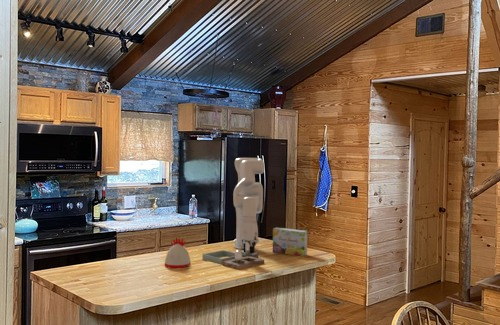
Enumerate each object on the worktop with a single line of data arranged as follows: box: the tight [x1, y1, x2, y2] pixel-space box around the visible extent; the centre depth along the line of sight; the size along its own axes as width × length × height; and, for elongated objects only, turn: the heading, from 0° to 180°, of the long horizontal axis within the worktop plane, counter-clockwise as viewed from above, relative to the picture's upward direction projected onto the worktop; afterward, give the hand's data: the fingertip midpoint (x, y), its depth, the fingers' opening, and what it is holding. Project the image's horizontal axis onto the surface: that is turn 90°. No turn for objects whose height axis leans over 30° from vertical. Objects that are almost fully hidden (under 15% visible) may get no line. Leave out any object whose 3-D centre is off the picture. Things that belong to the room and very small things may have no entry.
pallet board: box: [222, 256, 265, 271], centre depth 264 cm, size 12×20×3 cm, turn 136°
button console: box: [242, 251, 259, 258], centre depth 282 cm, size 9×9×3 cm
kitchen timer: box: [164, 237, 191, 269], centre depth 264 cm, size 14×14×15 cm
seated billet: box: [234, 249, 243, 264], centre depth 261 cm, size 4×4×8 cm
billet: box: [245, 241, 253, 256], centre depth 267 cm, size 4×4×8 cm
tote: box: [201, 249, 243, 265], centre depth 276 cm, size 16×16×4 cm
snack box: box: [272, 227, 308, 257], centre depth 297 cm, size 21×6×15 cm, turn 62°
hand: (249, 252), depth 267 cm, fingers closed on billet, 4 cm apart
